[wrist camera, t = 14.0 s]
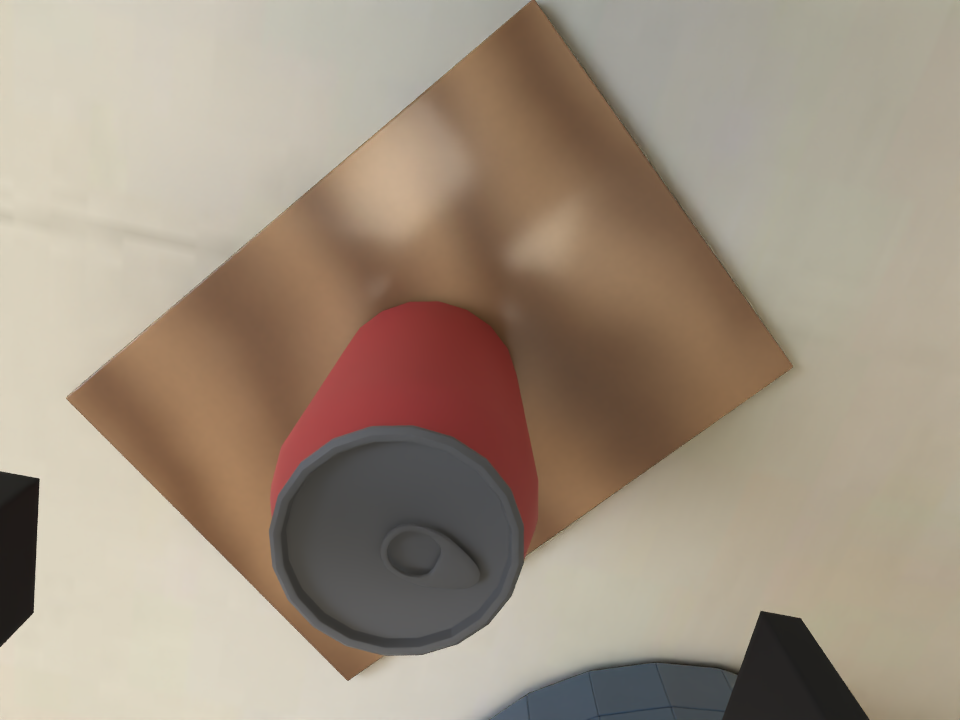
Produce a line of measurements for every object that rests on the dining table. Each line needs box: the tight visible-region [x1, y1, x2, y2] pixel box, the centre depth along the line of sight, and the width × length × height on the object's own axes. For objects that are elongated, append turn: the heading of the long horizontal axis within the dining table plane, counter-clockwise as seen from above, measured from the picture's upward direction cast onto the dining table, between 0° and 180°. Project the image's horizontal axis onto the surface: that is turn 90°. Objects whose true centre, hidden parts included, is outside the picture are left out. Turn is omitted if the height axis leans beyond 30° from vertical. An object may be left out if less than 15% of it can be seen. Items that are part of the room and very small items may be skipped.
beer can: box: [269, 301, 538, 656], centre depth 22 cm, size 7×7×12 cm
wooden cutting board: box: [66, 0, 793, 681], centre depth 28 cm, size 22×16×1 cm
